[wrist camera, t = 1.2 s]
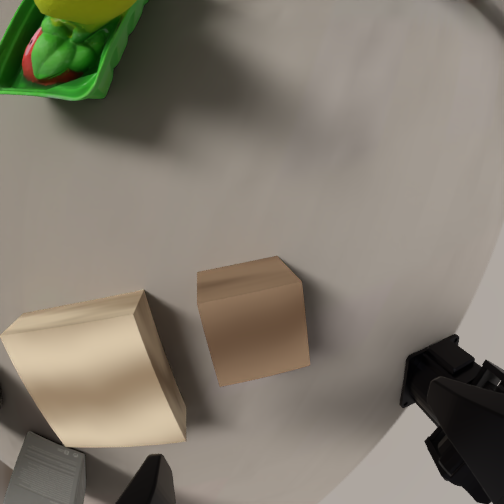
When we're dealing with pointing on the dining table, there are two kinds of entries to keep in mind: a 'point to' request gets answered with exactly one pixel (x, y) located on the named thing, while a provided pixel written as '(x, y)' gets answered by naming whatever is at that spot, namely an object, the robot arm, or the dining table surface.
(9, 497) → the skincare box
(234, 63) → the dining table surface
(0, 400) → the ink bottle
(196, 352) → the dining table surface
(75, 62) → the fruit basket
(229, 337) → the walnut cube
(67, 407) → the beech block
